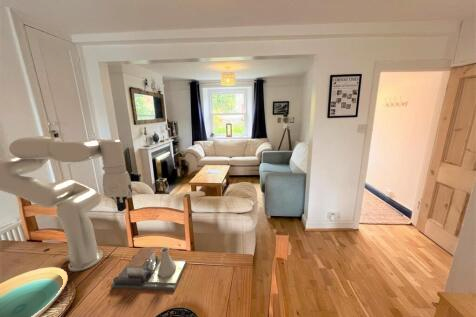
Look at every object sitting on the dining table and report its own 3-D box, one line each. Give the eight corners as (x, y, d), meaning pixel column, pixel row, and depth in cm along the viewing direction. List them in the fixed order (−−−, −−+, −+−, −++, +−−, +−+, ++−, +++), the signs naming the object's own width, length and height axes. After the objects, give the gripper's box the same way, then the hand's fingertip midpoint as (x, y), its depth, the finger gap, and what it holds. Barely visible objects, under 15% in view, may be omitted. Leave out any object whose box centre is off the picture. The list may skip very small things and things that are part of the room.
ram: (128, 280, 75) (126, 266, 74) (142, 261, 85) (141, 248, 84) (147, 281, 75) (145, 266, 73) (159, 261, 84) (158, 248, 83)
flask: (179, 264, 82) (176, 244, 80) (171, 278, 75) (169, 256, 73) (163, 263, 83) (160, 243, 81) (154, 277, 76) (151, 255, 74)
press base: (111, 287, 74) (110, 280, 73) (133, 261, 88) (132, 254, 87) (174, 290, 72) (173, 283, 72) (186, 263, 86) (185, 256, 85)
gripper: (91, 172, 76) (99, 214, 80) (126, 172, 75) (133, 214, 79) (105, 167, 84) (112, 205, 88) (137, 167, 82) (143, 206, 86)
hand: (122, 209), depth 83 cm, fingers closed
